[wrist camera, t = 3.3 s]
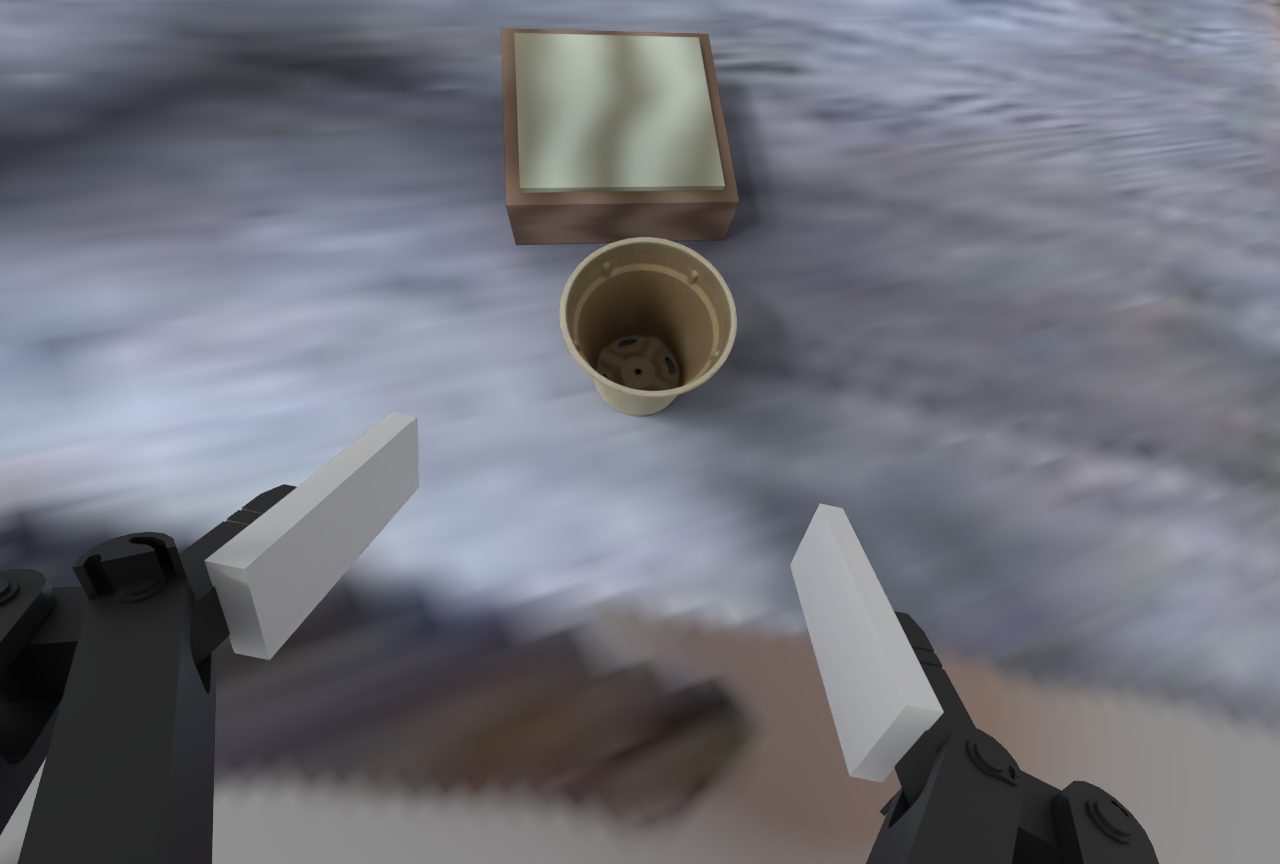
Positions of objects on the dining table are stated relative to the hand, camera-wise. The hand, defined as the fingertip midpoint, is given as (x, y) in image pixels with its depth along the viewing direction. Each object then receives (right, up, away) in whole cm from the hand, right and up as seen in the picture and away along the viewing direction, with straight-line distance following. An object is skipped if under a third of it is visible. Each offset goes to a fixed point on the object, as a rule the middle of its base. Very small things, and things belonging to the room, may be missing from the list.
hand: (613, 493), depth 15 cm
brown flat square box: (-1, +24, +23) cm, 33 cm away
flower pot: (+1, +6, +18) cm, 19 cm away
